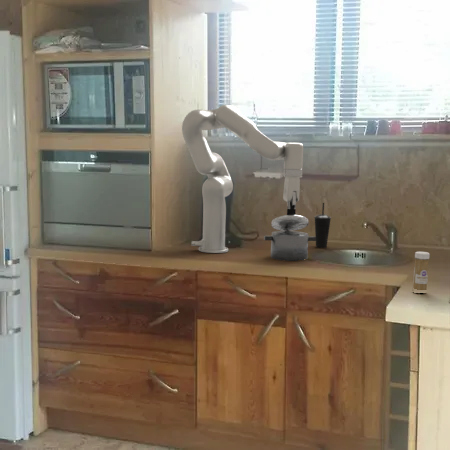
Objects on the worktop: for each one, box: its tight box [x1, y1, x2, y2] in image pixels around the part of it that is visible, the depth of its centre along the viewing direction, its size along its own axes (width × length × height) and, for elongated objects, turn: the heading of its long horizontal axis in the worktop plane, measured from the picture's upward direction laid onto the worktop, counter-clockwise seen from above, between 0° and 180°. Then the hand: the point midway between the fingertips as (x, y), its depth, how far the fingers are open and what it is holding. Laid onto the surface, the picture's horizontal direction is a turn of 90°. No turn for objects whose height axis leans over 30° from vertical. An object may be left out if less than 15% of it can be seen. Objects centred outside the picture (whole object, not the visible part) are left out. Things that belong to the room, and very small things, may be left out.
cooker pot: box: [263, 230, 316, 262], centre depth 288 cm, size 21×16×10 cm
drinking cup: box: [313, 202, 332, 249], centre depth 316 cm, size 8×8×20 cm
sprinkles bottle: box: [412, 251, 431, 291], centre depth 229 cm, size 5×5×13 cm
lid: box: [271, 214, 309, 231], centre depth 287 cm, size 15×15×3 cm
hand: (290, 218), depth 285 cm, fingers closed
